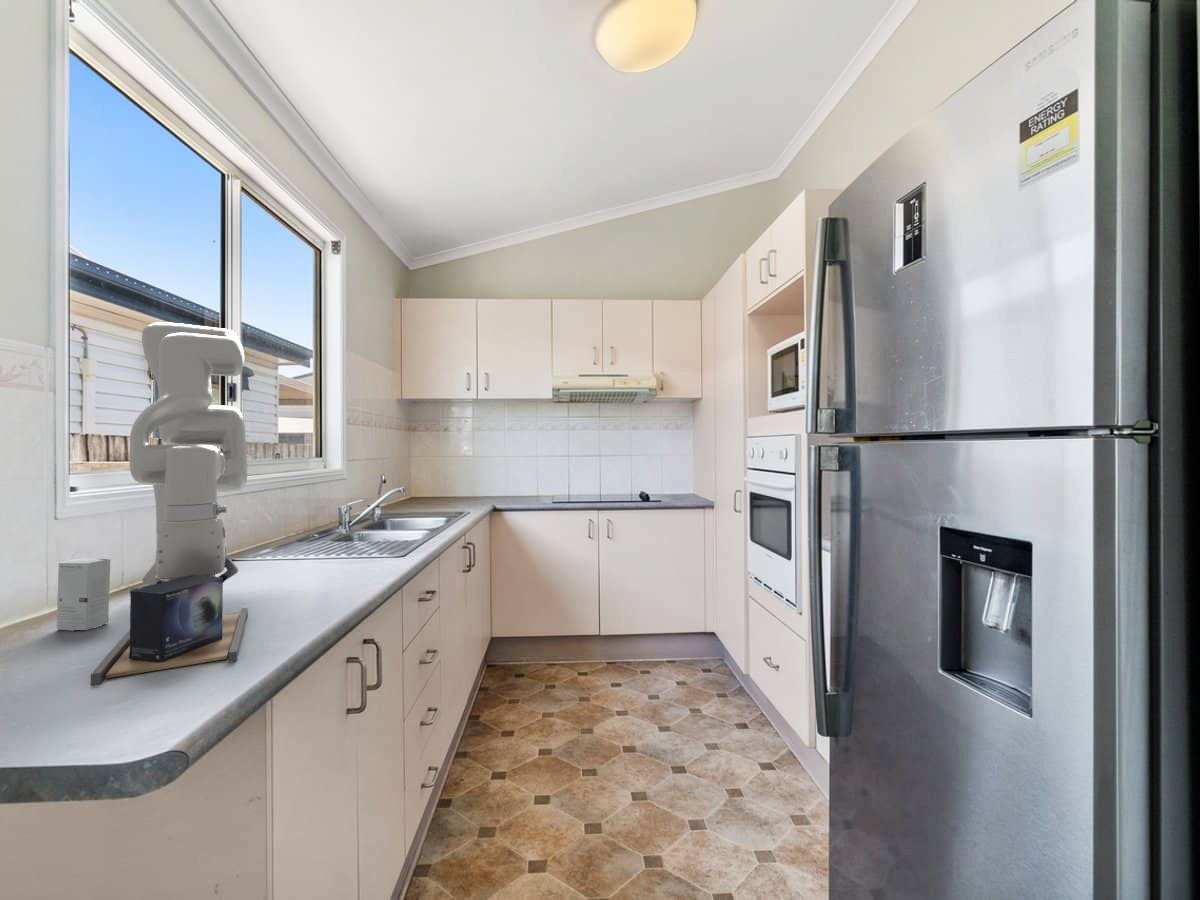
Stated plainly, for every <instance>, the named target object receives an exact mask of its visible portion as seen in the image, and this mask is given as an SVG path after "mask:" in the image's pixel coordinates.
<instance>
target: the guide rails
mask: <svg viewBox="0 0 1200 900" xmlns="http://www.w3.org/2000/svg"><path fill="white" fill-rule="evenodd" d="M239 614H240V616H239V619H238V623H237V626H236V629H235V633H234V636H233V640H232V643H231V646H230V650H229V654H228V663H231V662H230V661H234V662H237V661H238V657H239V653H240V650H241V646H242V641H243V639H244V638H243V637H244V633H245V629H246V624H247V622H248V618H249V607H241V610H240V612H239ZM129 646H130V629H129V630H128V631H127V632H126V633H125V634H124V635H123V637H121V639H119V641H118V643H117V644H116V645H115V646H114V647H113V648H112V650H110V652H109V653H108V654H107V655H106V656H105V657H104V658H103V660H102V661H101V662H100V663H99V664H98V665H97V666H96V667H95V669H94V670H93V671H92V672H91V673H90V686H95V685H101V684H102V683H103V681H104V680H105V679H106V674H107V673H108V672H109V670H110V669H111V668H112V667H113V665H114V664H115V663H116V662H117V660H118V659H119V658H120V657H121V656H122V654H123V653H124V652H125V651H126V649H127V648H128V647H129Z"/></svg>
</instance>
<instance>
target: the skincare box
mask: <svg viewBox="0 0 1200 900" xmlns="http://www.w3.org/2000/svg"><path fill="white" fill-rule="evenodd" d="M57 571H58V574H57V575H58V577H57V601H56V602H57V604H56V605H57V606H56V609H57V610H56V629H59V630H58V631H74V630H86V631H89V630H88V629H91V628H94V627H97V626H100V625H103V624H105V625H107V624H109V614H110V613H109V609H110V607H109V606H110V583H111V582H110V581H111V578H110V577H111V559H110V558H97V557H96V558H94V557H92V558H91V557H89V558H88V557H80V558H74V559H69V560H65V561H61V562H59V563H58V570H57ZM106 623H107V624H106ZM103 626H104V625H103ZM100 627H101V626H100ZM97 628H98V627H97ZM94 629H95V628H94ZM91 630H92V629H91Z"/></svg>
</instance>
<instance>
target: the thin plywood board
mask: <svg viewBox="0 0 1200 900" xmlns="http://www.w3.org/2000/svg"><path fill="white" fill-rule="evenodd" d="M239 616H240V613H234V614H226V615H225V614H224V615H222V639H220V640H218V641H215V642H212V643H210V644H207V645H205V646H202V647H199V648H197V649H194V650H191V651H189V652H186V653H184V654H181V655H178V656H176V657H173V658H171V659H168V660H165V661H163V662H155V661H146V660H137V659H129V652H130V646H129V647H128V648H127V649H126V651H125V652H124V653H123V654H122V656H121V657H120V658H119V659H118V660H117V662H116V663H115V664H114V665H113V667H112V668H111V669H110V670H109V672H108V673H107V674H106V677H105V679H110V678H116V677H118V678H119V677H123V676H129V675H136V674H141V673H142V674H143V673H146V672H153V671H160V670H165V669H171V668H180V667H185V666H190V665H191V666H192V665H196V664H203V663H207V662H208V663H210V662H214V661H215V662H216V661H220V660H221V661H222V660H227V659H229V650H230V646H231V643H232V640H233V636H234V633H235V629H236V626H237V623H238V619H239Z"/></svg>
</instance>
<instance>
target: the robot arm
mask: <svg viewBox="0 0 1200 900" xmlns="http://www.w3.org/2000/svg"><path fill="white" fill-rule="evenodd" d="M141 343H142V344H141V345H142V349H143V353H144V357H145V360H146V361H147V365H148V366H149V370H150V371H151V373H152V375H153V377H154V379H155V382H156V386H157V400H155V401H154V402H152V403H151V404H150V405H148V406H147V407H146V408H144V410H142V411H141V413H140V414H139V415H138V416H137V418H136V419H135V421H134V422H133V425H132V427H131V430H130V433H129V434H130V435H129V471H130V474H131V477H132V478H133V480H134V481H135V482H137V483H138V484H141V485H145V486H146V485H148V486H152V487H153V492H154V493H153V494H154V502H155V514H156V515H155V519H156V520H155V521H156V522H155V523H156V524H155V525H156V550H155V562H154V564H153V565H152V566H151V567H150V569H149V570H148V571H147V572H146V574H145V575H144V576H143V578H142V579H141V581H142V582H143V583H144V584H147V585H148V586H149V585H153V584H157V583H161V582H166V581H170V580H174V579H178V578H182V577H186V576H190V575H201V576H211V577H217V576H216V575H218V574H220V573H221V574H220V575H219V576H218V577H223V583H225V581H227V580H228V579H230V578H232V577H234V576H235V575H236V574H237V573H238V572H239V568H238V566H237V565H236V564H235V563H234V562H233V561H232V560H231V558H230V557H228V554H227V551H228V549H227V539H226V537H227V536H226V529H225V525H224V522H223V519H222V518H218V516H220V515H221V514H226V513H227V510H228V509H227V505H222V504H221V505H220V504H218V493H231V492H237V491H240V490H242V489H243V488H245V486H246V484H247V481H248V459H247V456H248V455H247V442H246V441H247V439H246V438H247V437H246V425H245V420H244V419H245V418H244V416H243V414H242V412H241V411H240V410H239V408H236V407H234V406H231V405H230V406H229V405H215V404H213V391H212V390H213V389H212V376H218V377H219V376H221V377H222V376H223V377H237V376H239V375H241V374H242V372H243V369H244V365H245V353H244V349H243V345H242V343H241V341H240V339H239V337H238V336H237V333H236V332H235V331H233V330H231V329H227V328H221V327H213V326H212V327H211V326H204V325H195V324H194V325H193V324H185V323H178V322H153V323H150V324H148V325H146V326H145V327H144V328H143V330H142V332H141ZM157 429H158V430H159V431H158V432H159V436H160V438H161V440H162V442H163V443H165V444H150V443H149V440H150V436H151V435H152V433H153V432H154V431H156V430H157ZM219 448H220V449H221V450H220V449H219ZM225 568H226V571H224V570H225ZM223 571H224V572H223ZM222 572H223V573H222Z"/></svg>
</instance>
